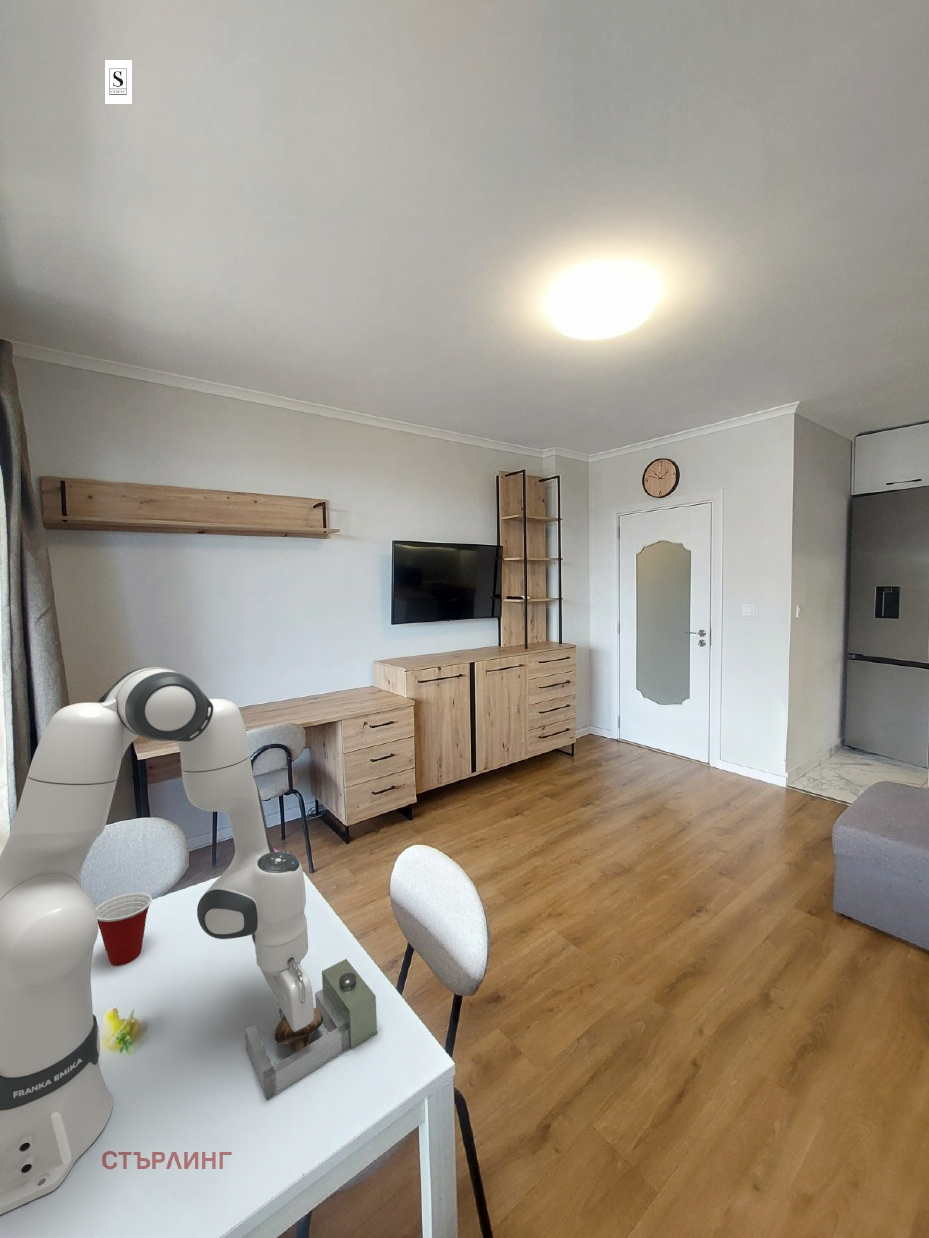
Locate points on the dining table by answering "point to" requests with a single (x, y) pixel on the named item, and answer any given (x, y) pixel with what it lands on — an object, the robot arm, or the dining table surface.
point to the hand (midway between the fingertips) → (286, 1018)
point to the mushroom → (297, 1032)
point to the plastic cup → (123, 926)
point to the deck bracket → (343, 1015)
